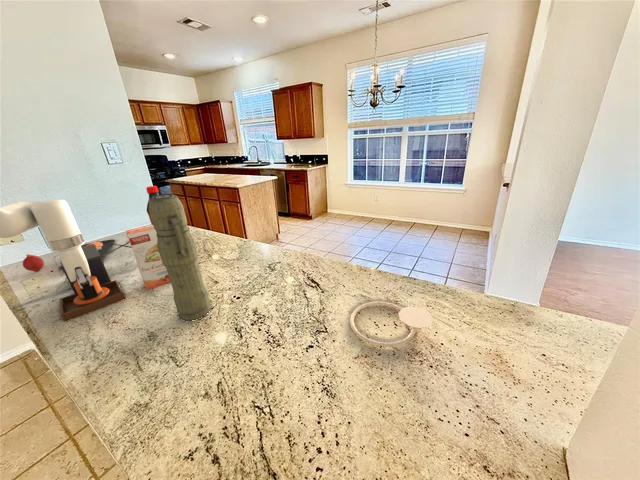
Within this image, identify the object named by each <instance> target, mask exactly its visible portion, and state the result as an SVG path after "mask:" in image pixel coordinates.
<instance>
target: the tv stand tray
mask: <svg viewBox="0 0 640 480" xmlns="http://www.w3.org/2000/svg"><path fill="white" fill-rule="evenodd" d="M100 287H106V288H108V289H109V293H108V294H107V295H106V296H105V297H104V298H102V299H100V300H98V301H95V302H93V303H89V304H85V305H76V304H75V303H74V299H75V298H76V297H77V296H78V293H72V294H69V295H67V296H63V297H60V298H59V310H60V317H61V319H62V320H63V322H64V323H66V322H69V321H71V320H70V319H72V320H74V319H76V317H77V318H80V317H82V316H85V315H87V314H90V313H92V311H93V312H95V311H97V310H100V309H101V310H102V309H104V308H106V307H109V306H111V305H113V303H114V304H117V303H119V302H121V300H122V301H124V300H126V299H127V298H126V296H125V293H124V291H123V289H122V287H121V285H120V283H119V282H118V280H117V279H114V280H111V282H108V283H105V284H102V285H100ZM123 299H124V300H123ZM118 301H119V302H118ZM89 312H90V313H89ZM84 314H85V315H84ZM73 318H74V319H73ZM68 320H69V321H68ZM65 321H66V322H65Z"/></svg>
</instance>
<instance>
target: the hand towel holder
mask: <svg viewBox="0 0 640 480" xmlns="http://www.w3.org/2000/svg"><path fill="white" fill-rule="evenodd" d="M372 305H377V306H381V305H385V306H384V307H388V306H390V307H389V308H392V307H394V308H393V309H395V308H396V309H395V310H397V309H398V311H399V310H400V311H399V312H397V314H398V318H399V320H400V321H401V322H402V323H404V324H405V325H406V326H408V327H409V329H410V333H409V334H408V335H407V337H405V338H403V339H401V340H397V341H389V342H388V341H387V342H386V341H385V342H383V341H377V340H374V339H371V338H369V337H366V336H365V335H364V334H362V333H360V332H359V331H358V329H357V327H356V326H355V317H356V315H357V313H359V312H360V311H361V310H363V309H365V308H368V307H367V306H369V307H373V306H372ZM433 321H434V318H433V316H432V314H431V312H429V311H427V310H426V309H424V308H422V307H419V306H412V305H410V306H406V307H401V306H399V305H397V304H395V303H391V302H387V301H371V302H370V301H369V302H365V303H364V304H361V305H359V306H357V307H356V308H355V309H354V310H353V312H352V313H351V315H350V319H349V324H350V328H351V329H352V331H353V333H354V334H355V335H356V336H357V337H358V336H359V337H360V338H361V339H360V338H359V337H358V338H359V339H360V340H362V339H363V340H362V341H364V342H365V341H366V342H365V343H367V342H368V343H367V344H370V343H371V344H370V345H373V344H374V345H373V346H376V345H377V346H376V347H381V346H384V347H383V348H393V347H392V346H395V347H399V346H402V345H404V344H406V343H408V342H409V341H411V340H412V338H414V336H415V335H416V333H417V332H418V331H419V330H420V329H423V328H426V327H430V326H431V325H432V324H433ZM398 345H399V346H398Z"/></svg>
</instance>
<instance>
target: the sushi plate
mask: <svg viewBox="0 0 640 480" xmlns="http://www.w3.org/2000/svg"><path fill="white" fill-rule="evenodd" d="M115 242H116V239H105V240H101V241H95V242H91V243H90V242H89V243H84V244H83V245H82V246H81V247H84V246H88V245H92V244H95V246H96V248H97V250H98V252H99V254H100V257H101V259H102V261H103V260H104V258H105V257H106V256H107V255H108V254H111V253H112V252H114V251H116V250H118V249H120V248H122V247H125V248H130V249H132V247H131V245H128V244H130V241H129V240H128V241H127V242H126V243H124V244H119V243H115ZM113 246H118V247H116V248H115V249H113V250H111V249H112V248H113ZM110 250H111V251H110ZM59 270H60V271H61V270H62V271H63V269H62V267H61V265H60V266H59Z"/></svg>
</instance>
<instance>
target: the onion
mask: <svg viewBox="0 0 640 480" xmlns="http://www.w3.org/2000/svg"><path fill="white" fill-rule="evenodd" d="M25 256H26V257H25V258H24V259H23V261H22V267H23V268H24V269H25V270H27V271H29V272H35V273H38V272H40V271H41V270H42V269H43V267H44V265H45V261H44V259H43V258H42V257H40V256H38V255H35V254H31V253H28V254H26V255H25Z"/></svg>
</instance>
